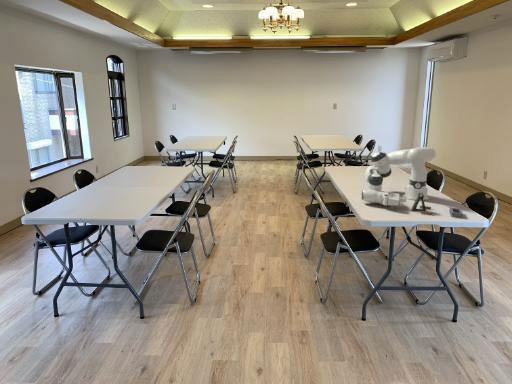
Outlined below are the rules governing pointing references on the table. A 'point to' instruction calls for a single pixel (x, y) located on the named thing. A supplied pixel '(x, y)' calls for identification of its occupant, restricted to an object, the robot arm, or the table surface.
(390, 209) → the table surface
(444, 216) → the table surface
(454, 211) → the pit tray
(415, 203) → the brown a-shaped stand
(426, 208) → the walled lane
